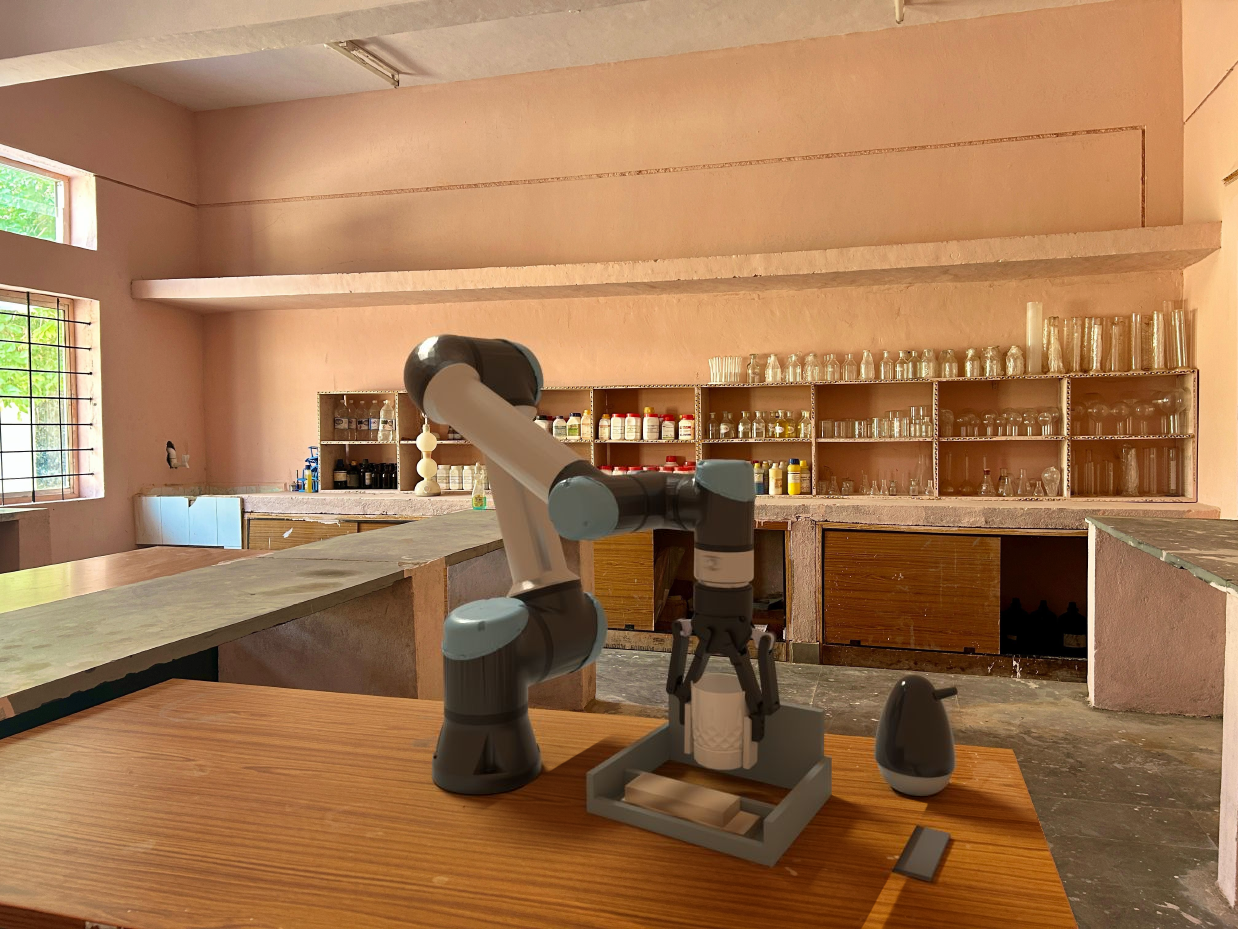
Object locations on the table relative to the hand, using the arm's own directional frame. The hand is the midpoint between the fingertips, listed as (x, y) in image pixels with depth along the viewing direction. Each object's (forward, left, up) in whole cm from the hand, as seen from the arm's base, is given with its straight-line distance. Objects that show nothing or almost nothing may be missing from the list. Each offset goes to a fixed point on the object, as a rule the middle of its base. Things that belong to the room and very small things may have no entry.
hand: (720, 757), depth 105 cm
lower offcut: (0, -10, -4) cm, 11 cm away
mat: (+21, 0, -6) cm, 22 cm away
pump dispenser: (+20, +17, -6) cm, 27 cm away
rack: (0, -3, -6) cm, 7 cm away
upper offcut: (-1, -10, -3) cm, 10 cm away
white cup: (0, 0, -1) cm, 1 cm away
